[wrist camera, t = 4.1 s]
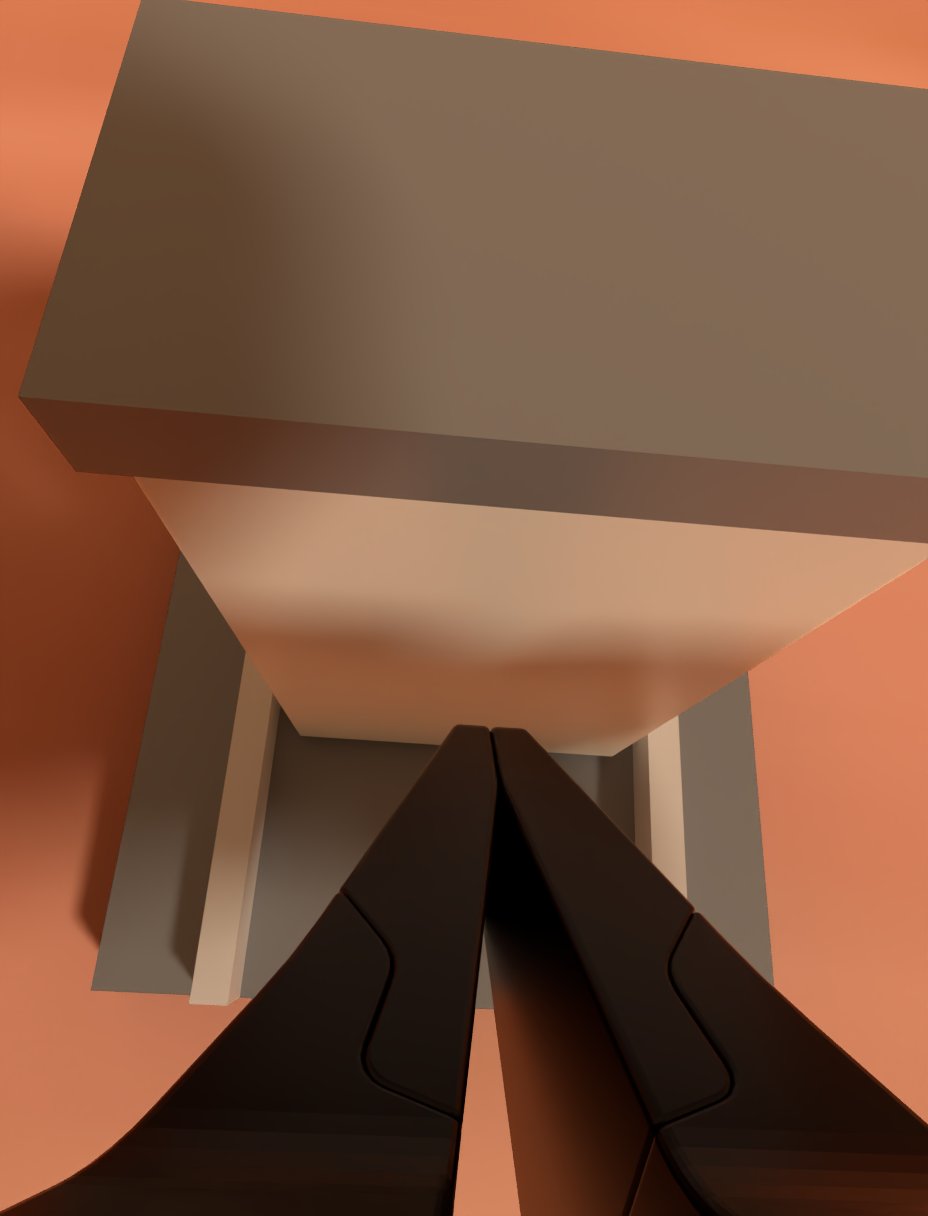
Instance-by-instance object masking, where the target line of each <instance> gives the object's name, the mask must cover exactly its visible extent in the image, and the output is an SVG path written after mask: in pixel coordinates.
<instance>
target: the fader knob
mask: <svg viewBox="0 0 928 1216" xmlns="http://www.w3.org/2000/svg"><path fill="white" fill-rule="evenodd" d="M18 397H19V398H20V400H21V401H22V402H23V403H24V405H25V406H26V407H27V409H28V410H29V411H30V412H31V414H32V415H33V416H34V418H35V419H36V420H37V421H38V423H39V424H40V425H41V427H42V428H43V429H44V431H45V432H46V433H47V434H48V436H49V437H50V438H51V440H52V441H53V442H54V443H55V445H56V446H57V447H58V449H59V450H60V451H61V453H62V454H63V455H64V456H65V458H66V459H67V460H68V462H69V463H70V464H71V465H72V467H73V468H74V469H75V471H76V472H87V473H99V474H111V475H122V476H133V477H134V479H135V481H136V482H137V484H138V485H139V487H140V488H141V490H142V491H143V493H144V494H145V496H146V498H147V499H148V501H149V502H150V504H151V505H152V507H153V508H154V510H155V512H156V513H157V515H158V516H159V518H160V519H161V521H162V522H163V524H164V525H165V527H166V529H167V530H168V532H169V533H170V535H171V536H172V538H173V539H174V541H175V542H176V544H177V546H178V547H179V549H180V550H181V552H182V553H183V555H184V556H185V558H186V559H187V561H188V563H189V564H190V566H191V567H192V569H193V570H194V572H195V573H196V575H197V577H198V578H199V580H200V581H201V583H202V584H203V586H204V587H205V589H206V590H207V592H208V594H209V595H210V597H211V598H212V600H213V601H214V603H215V604H216V606H217V607H218V609H219V611H220V612H221V614H222V615H223V617H224V618H225V620H226V621H227V623H228V625H229V626H230V628H231V629H232V631H233V632H234V634H235V635H236V637H237V638H238V640H239V642H240V643H241V645H242V646H243V648H244V649H245V651H246V652H247V654H248V655H249V657H250V659H251V660H252V662H253V663H254V665H255V666H256V668H257V669H258V671H259V672H260V674H261V676H262V677H263V679H264V680H265V682H266V683H267V685H268V686H269V688H270V690H271V691H272V693H273V694H274V696H275V697H276V699H277V700H278V702H279V703H280V705H281V707H282V708H283V710H284V711H285V713H286V714H287V716H288V717H289V719H290V720H291V722H292V724H293V725H294V727H295V728H296V730H297V731H298V733H299V734H300V736H311V737H326V738H342V739H357V740H372V741H387V742H402V743H417V744H432V745H441V744H442V742H443V741H444V739H445V738H446V737H447V735H448V734H449V732H450V731H451V729H452V728H453V727H454V726H455V725H457V724H463V725H478V726H486V727H487V728H489V730H490V731H491V729H492V728H494V727H508V728H522V729H525V730H526V731H528V732H529V733H530V734H531V735H532V736H533V737H534V739H535V740H536V741H537V742H538V743H539V744H540V745H541V746H542V747H543V748H544V749H545V750H546V751H547V752H552V753H567V754H582V755H597V756H614V755H615V754H617V753H618V752H620V751H622V750H623V749H625V748H626V747H628V746H630V745H631V744H633V743H634V742H636V741H638V740H639V739H641V738H642V737H644V736H646V735H647V734H649V733H650V732H652V731H654V730H655V729H657V728H658V727H660V726H662V725H663V724H665V723H666V722H668V721H670V720H671V719H673V718H674V717H676V716H677V715H679V714H681V713H682V712H684V711H685V710H687V709H689V708H690V707H692V706H693V705H695V704H697V703H698V702H700V701H701V700H703V699H705V698H706V697H708V696H709V695H711V694H713V693H714V692H716V691H717V690H719V689H721V688H722V687H724V686H725V685H727V684H729V683H730V682H732V681H733V680H735V679H736V678H738V677H740V676H741V675H743V674H744V673H746V672H748V671H749V670H751V669H752V668H754V667H756V666H757V665H759V664H760V663H762V662H764V661H765V660H767V659H768V658H770V657H772V656H773V655H775V654H776V653H778V652H780V651H781V650H783V649H784V648H786V647H788V646H789V645H791V644H792V643H794V642H796V641H797V640H799V639H800V638H802V637H803V636H805V635H807V634H808V633H810V632H811V631H813V630H815V629H816V628H818V627H819V626H821V625H823V624H824V623H826V622H827V621H829V620H831V619H832V618H834V617H835V616H837V615H839V614H840V613H842V612H843V611H845V610H847V609H848V608H850V607H851V606H853V605H855V604H856V603H858V602H859V601H861V600H862V599H864V598H866V597H867V596H869V595H870V594H872V593H874V592H875V591H877V590H878V589H880V588H882V587H883V586H885V585H886V584H888V583H890V582H891V581H893V580H894V579H896V578H898V577H899V576H901V575H902V574H904V573H906V572H907V571H909V570H910V569H912V568H914V567H915V566H917V565H918V564H920V563H922V562H923V561H925V560H926V559H928V89H921V88H913V87H904V86H896V85H888V84H879V83H871V82H862V81H854V80H846V79H837V78H829V77H821V76H812V75H804V74H796V73H787V72H779V71H770V70H762V69H754V68H745V67H737V66H729V65H720V64H712V63H704V62H695V61H687V60H678V59H670V58H662V57H653V56H645V55H637V54H628V53H620V52H611V51H603V50H595V49H586V48H578V47H570V46H561V45H553V44H545V43H536V42H528V41H519V40H511V39H503V38H494V37H486V36H478V35H469V34H461V33H453V32H444V31H436V30H427V29H419V28H411V27H402V26H394V25H386V24H377V23H369V22H361V21H352V20H344V19H335V18H327V17H319V16H310V15H302V14H294V13H285V12H277V11H269V10H260V9H252V8H243V7H235V6H227V5H218V4H210V3H202V2H193V1H185V0H141V3H140V6H139V9H138V12H137V15H136V19H135V22H134V25H133V28H132V32H131V35H130V38H129V41H128V44H127V48H126V51H125V54H124V57H123V61H122V64H121V67H120V70H119V73H118V77H117V80H116V83H115V86H114V90H113V93H112V96H111V99H110V102H109V106H108V109H107V112H106V115H105V119H104V122H103V125H102V128H101V131H100V135H99V138H98V141H97V144H96V148H95V151H94V154H93V157H92V160H91V164H90V167H89V170H88V173H87V177H86V180H85V183H84V186H83V189H82V193H81V196H80V199H79V202H78V206H77V209H76V212H75V215H74V218H73V222H72V225H71V228H70V231H69V235H68V238H67V241H66V244H65V247H64V251H63V254H62V257H61V260H60V264H59V267H58V270H57V273H56V276H55V280H54V283H53V286H52V289H51V292H50V296H49V299H48V302H47V305H46V309H45V312H44V315H43V318H42V321H41V325H40V328H39V331H38V334H37V338H36V341H35V344H34V347H33V350H32V354H31V357H30V360H29V363H28V367H27V370H26V373H25V376H24V379H23V383H22V386H21V389H20V392H19V396H18Z"/></svg>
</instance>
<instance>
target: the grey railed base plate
mask: <svg viewBox="0 0 928 1216" xmlns="http://www.w3.org/2000/svg"><path fill="white" fill-rule="evenodd" d="M439 747H440V745H432V744H417V743H402V742H387V741H372V740H357V739H342V738H326V737H311V736H300V734H299V733H298V731H297V730H296V728H295V727H294V725H293V724H292V722H291V720H290V719H289V717H288V716H287V714H286V713H285V711H284V710H283V708H282V707H281V705H280V703H279V702H278V700H277V699H276V697H275V696H274V694H273V693H272V691H271V690H270V688H269V686H268V685H267V683H266V682H265V680H264V679H263V677H262V676H261V674H260V672H259V671H258V669H257V668H256V666H255V665H254V663H253V662H252V660H251V659H250V657H249V655H248V654H247V652H246V651H245V649H244V648H243V646H242V645H241V643H240V642H239V640H238V638H237V637H236V635H235V634H234V632H233V631H232V629H231V628H230V626H229V625H228V623H227V621H226V620H225V618H224V617H223V615H222V614H221V612H220V611H219V609H218V607H217V606H216V604H215V603H214V601H213V600H212V598H211V597H210V595H209V594H208V592H207V590H206V589H205V587H204V586H203V584H202V583H201V581H200V580H199V578H198V577H197V575H196V573H195V572H194V570H193V569H192V567H191V566H190V564H189V563H188V561H187V559H186V558H185V556H184V555H183V553H182V552H181V550H180V553H179V558H178V563H177V568H176V573H175V578H174V583H173V588H172V593H171V598H170V603H169V608H168V612H167V617H166V622H165V627H164V632H163V637H162V642H161V647H160V652H159V657H158V662H157V667H156V672H155V677H154V681H153V686H152V691H151V696H150V701H149V706H148V711H147V716H146V721H145V726H144V731H143V736H142V741H141V746H140V750H139V755H138V760H137V765H136V770H135V775H134V780H133V785H132V790H131V795H130V800H129V805H128V810H127V815H126V819H125V824H124V829H123V834H122V839H121V844H120V849H119V854H118V859H117V864H116V869H115V874H114V879H113V884H112V888H111V893H110V898H109V903H108V908H107V913H106V918H105V923H104V928H103V933H102V938H101V943H100V948H99V953H98V957H97V962H96V967H95V972H94V977H93V982H92V987H91V990H93V991H115V992H136V993H157V994H178V995H190V1001H189V1004H201V1005H222V1006H228V1005H229V1004H231V1003H232V1002H234V1001H235V1000H237V999H238V998H239V997H242V998H254V997H255V996H256V995H257V994H258V992H259V991H260V990H261V989H262V988H263V987H264V986H265V984H266V983H267V982H268V981H269V980H270V979H271V978H272V976H273V975H274V974H275V973H276V972H277V971H278V970H279V968H280V967H281V966H282V965H283V964H284V963H285V962H286V960H287V959H288V958H289V957H290V956H291V954H292V953H293V952H294V951H295V949H296V948H297V947H298V945H299V944H300V943H301V941H302V940H303V939H304V937H305V936H306V935H307V933H308V932H309V931H310V929H311V928H312V927H313V926H314V924H315V923H316V922H317V920H318V919H319V917H320V916H321V915H322V913H323V912H324V910H325V909H326V907H327V906H328V905H329V903H330V902H331V900H332V899H333V897H334V896H335V895H336V894H337V893H339V891H340V888H341V887H342V885H343V884H344V882H345V881H346V879H347V878H348V877H349V875H350V874H351V872H352V871H353V869H354V868H355V867H356V865H357V864H358V862H359V861H360V859H361V858H362V857H363V855H364V854H365V852H366V851H367V849H368V848H369V847H370V845H371V844H372V842H373V841H374V839H375V838H376V837H377V835H378V834H379V832H380V831H381V829H382V828H383V827H384V825H385V824H386V822H387V821H388V819H389V818H390V817H391V815H392V814H393V812H394V811H395V809H396V808H397V807H398V805H399V804H400V802H401V801H402V799H403V798H404V797H405V795H406V794H407V792H408V791H409V789H410V788H411V787H412V785H413V784H414V782H415V781H416V779H417V778H418V777H419V775H420V774H421V772H422V771H423V769H424V768H425V767H426V765H427V764H428V762H429V761H430V759H431V758H432V757H433V755H434V754H435V752H436V751H437V749H438V748H439ZM548 753H549V754H550V755H551V756H552V757H553V759H554V760H555V761H556V762H557V763H558V764H559V765H560V766H561V767H562V768H563V769H564V770H565V771H566V772H567V773H568V774H569V775H570V776H571V778H572V779H573V780H574V781H575V782H576V783H577V784H578V785H579V786H580V787H581V788H582V789H583V790H584V791H585V792H586V793H587V794H588V795H589V796H590V798H591V799H592V800H593V801H594V802H595V803H596V804H597V805H598V806H599V807H600V808H601V809H602V810H603V811H604V812H605V813H606V814H607V815H608V816H609V818H610V819H611V820H612V821H613V822H614V823H615V824H616V825H617V826H618V827H619V828H620V829H621V830H622V831H623V832H624V833H625V834H626V835H627V837H628V838H629V839H630V840H631V841H632V842H633V843H634V844H635V845H636V846H637V847H638V848H639V849H640V850H641V851H642V852H643V853H644V854H645V855H646V857H647V858H648V859H649V860H650V861H651V862H652V863H653V864H654V865H655V866H656V867H657V868H658V869H659V870H660V871H661V872H662V873H663V874H664V875H665V877H666V878H667V879H668V880H669V881H670V882H671V883H672V884H673V885H674V886H675V887H676V888H677V889H678V890H679V891H680V892H681V893H682V894H683V896H684V897H685V898H686V899H687V900H688V901H689V902H690V903H691V904H692V905H693V906H694V908H695V912H699V913H701V914H702V915H703V916H704V917H705V918H706V919H707V920H708V921H709V922H710V924H711V925H712V926H713V927H714V928H715V929H716V930H717V931H718V932H719V933H720V934H721V935H722V936H723V937H724V938H725V939H726V940H727V941H728V942H729V943H730V944H731V945H732V946H733V947H734V948H735V949H736V950H737V951H738V952H739V953H740V954H741V955H742V956H743V957H744V958H745V959H746V960H747V961H748V962H749V963H750V964H751V965H752V966H753V967H754V968H755V969H756V970H757V971H758V972H759V973H760V974H761V975H762V976H763V977H764V978H765V979H766V980H767V981H768V982H769V983H770V984H771V985H772V986H773V987H774V979H773V967H772V955H771V943H770V931H769V919H768V907H767V895H766V883H765V871H764V859H763V847H762V835H761V823H760V811H759V799H758V787H757V775H756V763H755V751H754V739H753V727H752V715H751V703H750V691H749V679H748V672H746V673H744V674H743V675H741V676H740V677H738V678H736V679H735V680H733V681H732V682H730V683H729V684H727V685H725V686H724V687H722V688H721V689H719V690H717V691H716V692H714V693H713V694H711V695H709V696H708V697H706V698H705V699H703V700H701V701H700V702H698V703H697V704H695V705H693V706H692V707H690V708H689V709H687V710H685V711H684V712H682V713H681V714H679V715H677V716H676V717H674V718H673V719H671V720H670V721H668V722H666V723H665V724H663V725H662V726H660V727H658V728H657V729H655V730H654V731H652V732H650V733H649V734H647V735H646V736H644V737H642V738H641V739H639V740H638V741H636V742H634V743H633V744H631V745H630V746H628V747H626V748H625V749H623V750H622V751H620V752H618V753H617V754H615V755H614V756H597V755H582V754H567V753H552V752H548ZM475 1008H476V1009H494V1006H493V999H492V991H491V983H490V976H489V968H488V960H487V953H486V945H485V937H484V934H483V943H482V952H481V961H480V970H479V979H478V988H477V997H476V1006H475Z"/></svg>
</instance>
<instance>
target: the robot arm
mask: <svg viewBox="0 0 928 1216" xmlns="http://www.w3.org/2000/svg"><path fill="white" fill-rule="evenodd" d="M483 934H484V937H485V945H486V953H487V960H488V968H489V976H490V983H491V991H492V999H493V1006H494V1014H495V1021H496V1029H497V1037H498V1044H499V1052H500V1060H501V1067H502V1075H503V1082H504V1090H505V1098H506V1105H507V1113H508V1121H509V1128H510V1136H511V1143H512V1151H513V1159H514V1166H515V1174H516V1182H517V1189H518V1197H519V1204H520V1212H521V1216H928V1124H927V1123H926V1122H925V1121H924V1120H922V1119H921V1118H920V1117H919V1116H918V1115H917V1114H916V1113H915V1112H913V1111H912V1110H911V1109H910V1108H909V1107H908V1106H907V1105H906V1104H904V1103H903V1102H902V1101H901V1100H900V1099H899V1098H898V1097H896V1096H895V1095H894V1094H893V1093H892V1092H891V1091H890V1090H889V1089H887V1088H886V1087H885V1086H884V1085H883V1084H882V1083H881V1082H879V1081H878V1080H877V1079H876V1078H875V1077H874V1076H873V1075H872V1074H870V1073H869V1072H868V1071H867V1070H866V1069H865V1068H864V1067H862V1066H861V1065H860V1064H859V1063H858V1062H857V1061H856V1060H855V1059H853V1058H852V1057H851V1056H850V1055H849V1054H848V1053H847V1052H845V1051H844V1050H843V1049H842V1048H841V1047H840V1046H839V1045H838V1044H836V1043H835V1042H834V1041H833V1040H832V1039H831V1038H830V1037H828V1036H827V1035H826V1034H825V1033H824V1032H823V1031H822V1030H821V1029H819V1028H818V1027H817V1026H816V1025H815V1024H814V1023H813V1022H812V1021H810V1020H809V1019H808V1018H807V1017H806V1016H805V1015H804V1014H803V1013H802V1012H801V1011H800V1010H798V1009H797V1008H796V1007H795V1006H794V1005H793V1004H792V1003H791V1002H790V1001H789V1000H788V999H787V998H785V997H784V996H783V995H782V994H781V993H780V992H779V991H778V990H777V989H776V988H775V987H773V986H772V985H771V984H770V983H769V982H768V981H767V980H766V979H765V978H764V977H763V976H762V975H761V974H760V973H759V972H758V971H757V970H756V969H755V968H754V967H753V966H752V965H751V964H750V963H749V962H748V961H747V960H746V959H745V958H744V957H743V956H742V955H741V954H740V953H739V952H738V951H737V950H736V949H735V948H734V947H733V946H732V945H731V944H730V943H729V942H728V941H727V940H726V939H725V938H724V937H723V936H722V935H721V934H720V933H719V932H718V931H717V930H716V929H715V928H714V927H713V926H712V925H711V924H710V922H709V921H708V920H707V919H706V918H705V917H704V916H703V915H702V914H701V913H699V912H695V908H694V906H693V905H692V904H691V903H690V902H689V901H688V900H687V899H686V898H685V897H684V896H683V894H682V893H681V892H680V891H679V890H678V889H677V888H676V887H675V886H674V885H673V884H672V883H671V882H670V881H669V880H668V879H667V878H666V877H665V875H664V874H663V873H662V872H661V871H660V870H659V869H658V868H657V867H656V866H655V865H654V864H653V863H652V862H651V861H650V860H649V859H648V858H647V857H646V855H645V854H644V853H643V852H642V851H641V850H640V849H639V848H638V847H637V846H636V845H635V844H634V843H633V842H632V841H631V840H630V839H629V838H628V837H627V835H626V834H625V833H624V832H623V831H622V830H621V829H620V828H619V827H618V826H617V825H616V824H615V823H614V822H613V821H612V820H611V819H610V818H609V816H608V815H607V814H606V813H605V812H604V811H603V810H602V809H601V808H600V807H599V806H598V805H597V804H596V803H595V802H594V801H593V800H592V799H591V798H590V796H589V795H588V794H587V793H586V792H585V791H584V790H583V789H582V788H581V787H580V786H579V785H578V784H577V783H576V782H575V781H574V780H573V779H572V778H571V776H570V775H569V774H568V773H567V772H566V771H565V770H564V769H563V768H562V767H561V766H560V765H559V764H558V763H557V762H556V761H555V760H554V759H553V757H552V756H551V755H550V754H549V753H548V752H547V751H546V750H545V749H544V748H543V747H542V746H541V745H540V744H539V743H538V742H537V741H536V740H535V739H534V737H533V736H532V735H531V734H530V733H529V732H528V731H526V730H525V729H522V728H508V727H494V728H492V729H491V731H490V730H489V728H487V727H486V726H478V725H463V724H457V725H455V726H454V727H453V728H452V729H451V731H450V732H449V734H448V735H447V737H446V738H445V739H444V741H443V742H442V744H441V745H440V747H439V748H438V749H437V751H436V752H435V754H434V755H433V757H432V758H431V759H430V761H429V762H428V764H427V765H426V767H425V768H424V769H423V771H422V772H421V774H420V775H419V777H418V778H417V779H416V781H415V782H414V784H413V785H412V787H411V788H410V789H409V791H408V792H407V794H406V795H405V797H404V798H403V799H402V801H401V802H400V804H399V805H398V807H397V808H396V809H395V811H394V812H393V814H392V815H391V817H390V818H389V819H388V821H387V822H386V824H385V825H384V827H383V828H382V829H381V831H380V832H379V834H378V835H377V837H376V838H375V839H374V841H373V842H372V844H371V845H370V847H369V848H368V849H367V851H366V852H365V854H364V855H363V857H362V858H361V859H360V861H359V862H358V864H357V865H356V867H355V868H354V869H353V871H352V872H351V874H350V875H349V877H348V878H347V879H346V881H345V882H344V884H343V885H342V887H341V888H340V891H339V893H337V894H336V895H335V896H334V897H333V899H332V900H331V902H330V903H329V905H328V906H327V907H326V909H325V910H324V912H323V913H322V915H321V916H320V917H319V919H318V920H317V922H316V923H315V924H314V926H313V927H312V928H311V929H310V931H309V932H308V933H307V935H306V936H305V937H304V939H303V940H302V941H301V943H300V944H299V945H298V947H297V948H296V949H295V951H294V952H293V953H292V954H291V956H290V957H289V958H288V959H287V960H286V962H285V963H284V964H283V965H282V966H281V967H280V968H279V970H278V971H277V972H276V973H275V974H274V975H273V976H272V978H271V979H270V980H269V981H268V982H267V983H266V984H265V986H264V987H263V988H262V989H261V990H260V991H259V992H258V994H257V995H256V996H255V997H254V998H253V999H252V1000H251V1001H250V1002H249V1004H248V1005H247V1006H246V1007H245V1008H244V1009H243V1010H242V1011H241V1012H240V1013H239V1014H238V1015H237V1017H236V1018H235V1019H234V1020H233V1021H232V1022H231V1023H230V1024H229V1025H228V1026H227V1027H226V1028H225V1029H224V1031H223V1032H222V1033H221V1034H220V1035H219V1036H218V1037H217V1038H216V1039H215V1040H214V1041H213V1042H212V1043H211V1045H210V1046H209V1047H208V1048H207V1049H206V1050H205V1051H204V1052H203V1053H202V1054H201V1055H200V1056H199V1057H198V1059H197V1060H196V1061H195V1062H194V1063H193V1064H192V1065H191V1066H190V1067H189V1068H188V1069H187V1070H186V1072H185V1073H184V1074H183V1075H182V1076H181V1077H180V1078H179V1079H178V1080H177V1081H176V1082H175V1083H174V1084H173V1086H172V1087H171V1088H170V1089H169V1090H168V1091H167V1092H166V1093H165V1094H164V1095H163V1096H162V1097H161V1098H160V1100H159V1101H158V1102H157V1103H156V1104H155V1105H154V1106H153V1107H152V1108H151V1109H150V1110H149V1111H148V1112H147V1113H146V1114H145V1115H144V1117H143V1118H142V1119H141V1120H140V1121H139V1122H138V1123H137V1124H136V1125H135V1126H134V1127H133V1128H132V1129H131V1130H130V1131H129V1132H127V1133H126V1134H125V1135H124V1136H123V1137H122V1138H121V1139H120V1140H119V1141H117V1142H116V1143H115V1144H114V1145H113V1146H112V1147H111V1148H109V1149H108V1150H107V1151H106V1152H104V1153H103V1154H102V1155H100V1156H99V1157H98V1158H97V1159H95V1160H94V1161H93V1162H92V1163H90V1164H89V1165H87V1166H86V1167H84V1168H83V1169H81V1170H80V1171H78V1172H77V1173H75V1174H74V1175H72V1176H71V1177H69V1178H68V1179H66V1180H64V1181H62V1182H60V1183H58V1184H56V1185H54V1186H52V1187H50V1188H48V1189H46V1190H44V1191H42V1192H40V1193H38V1194H36V1195H34V1196H32V1197H30V1198H27V1199H25V1200H23V1201H21V1202H19V1203H17V1204H15V1205H13V1206H11V1207H9V1208H7V1209H5V1210H3V1211H1V1212H0V1216H453V1211H454V1200H455V1190H456V1180H457V1170H458V1160H459V1151H460V1142H461V1129H462V1123H463V1114H464V1105H465V1096H466V1087H467V1078H468V1069H469V1060H470V1051H471V1042H472V1033H473V1024H474V1015H475V1006H476V997H477V988H478V979H479V970H480V961H481V952H482V943H483Z"/></svg>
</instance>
